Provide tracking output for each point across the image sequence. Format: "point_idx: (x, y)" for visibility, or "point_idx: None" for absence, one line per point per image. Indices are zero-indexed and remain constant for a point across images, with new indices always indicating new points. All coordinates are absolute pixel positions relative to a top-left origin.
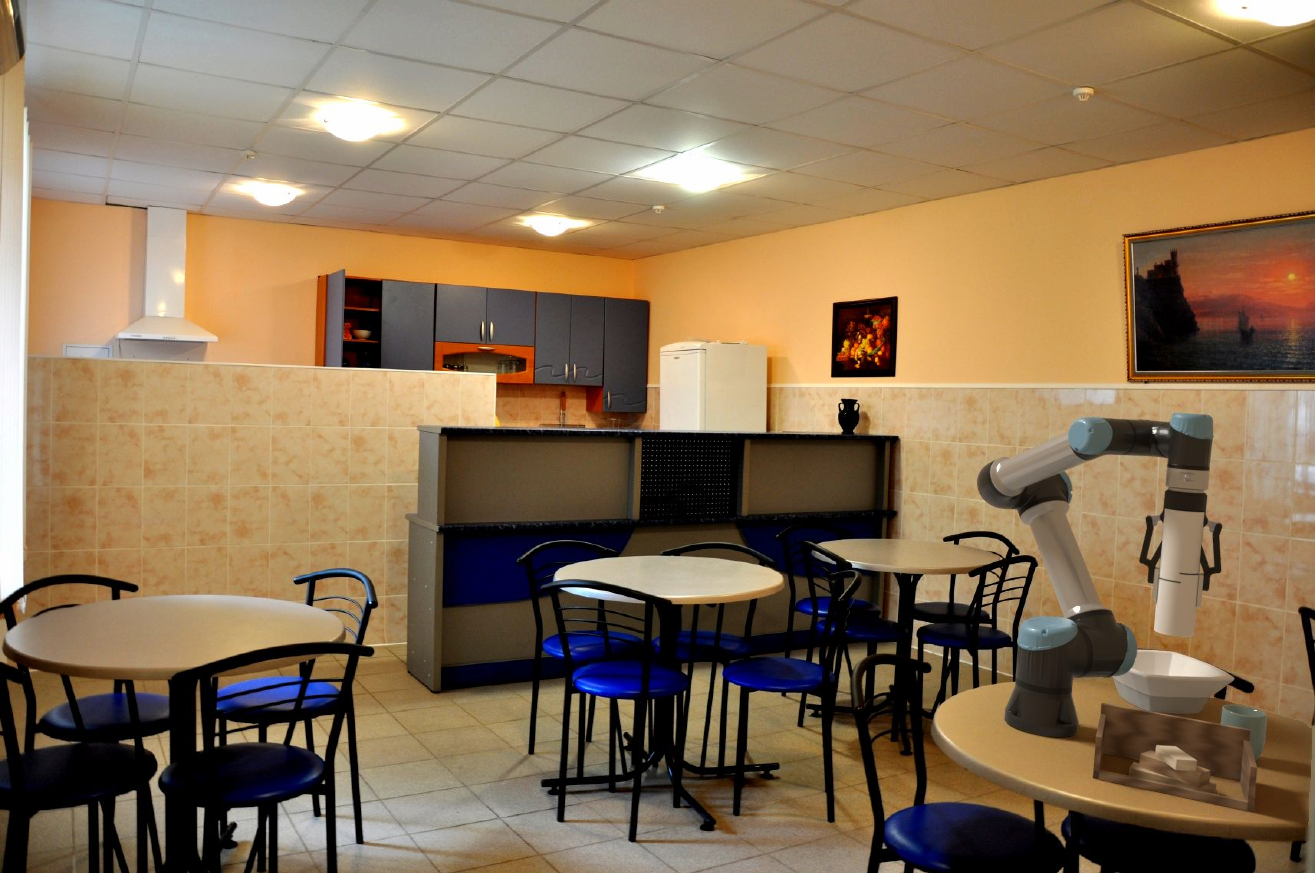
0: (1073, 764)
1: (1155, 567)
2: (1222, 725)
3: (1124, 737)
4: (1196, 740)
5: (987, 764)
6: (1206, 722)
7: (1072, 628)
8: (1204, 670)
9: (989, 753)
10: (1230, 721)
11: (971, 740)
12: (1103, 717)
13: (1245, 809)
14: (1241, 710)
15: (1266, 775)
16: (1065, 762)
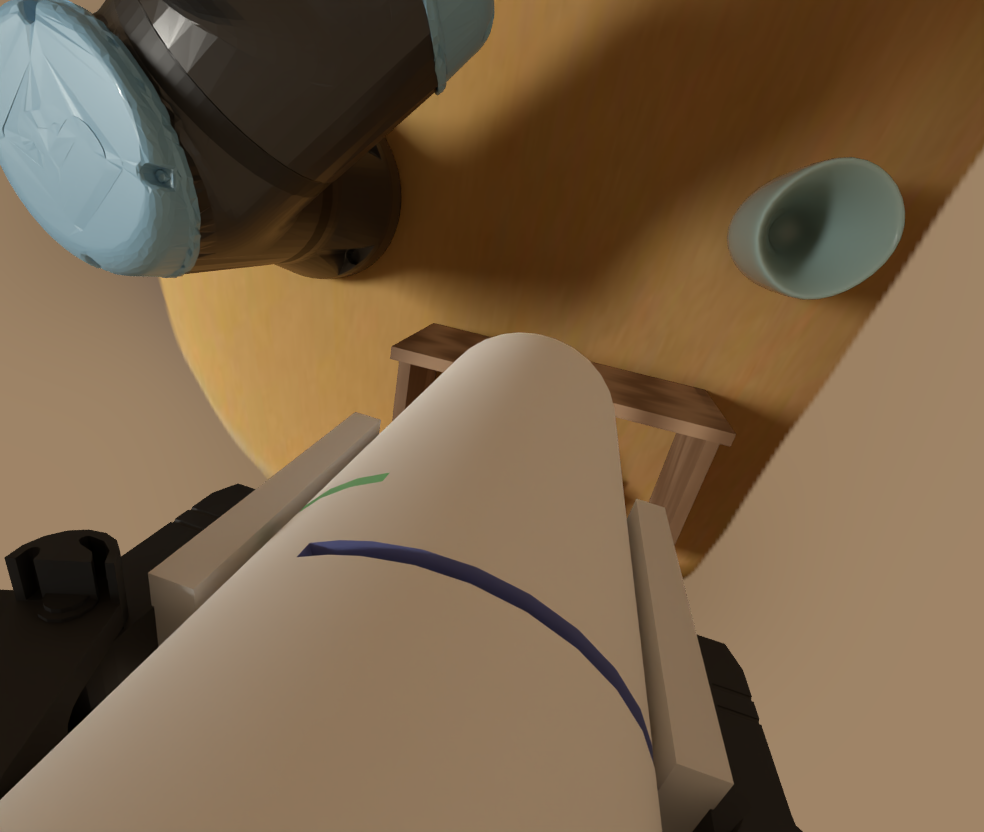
0: (385, 420)
1: (152, 616)
2: (666, 428)
3: None
4: None
5: (264, 466)
6: (629, 418)
7: (161, 222)
8: None
9: (258, 417)
10: (753, 271)
11: (222, 362)
12: (404, 382)
13: None
14: (842, 174)
15: (776, 340)
16: (372, 415)
